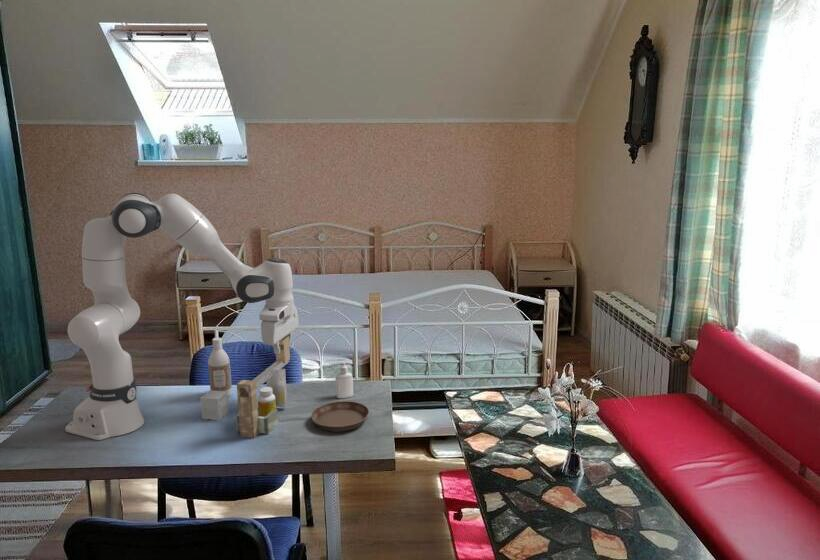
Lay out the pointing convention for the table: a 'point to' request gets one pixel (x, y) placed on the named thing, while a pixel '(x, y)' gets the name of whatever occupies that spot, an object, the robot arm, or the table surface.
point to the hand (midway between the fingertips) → (282, 349)
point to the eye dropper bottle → (344, 383)
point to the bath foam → (219, 368)
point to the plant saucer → (340, 416)
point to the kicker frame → (252, 412)
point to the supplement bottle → (266, 401)
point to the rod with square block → (276, 374)
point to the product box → (214, 405)
